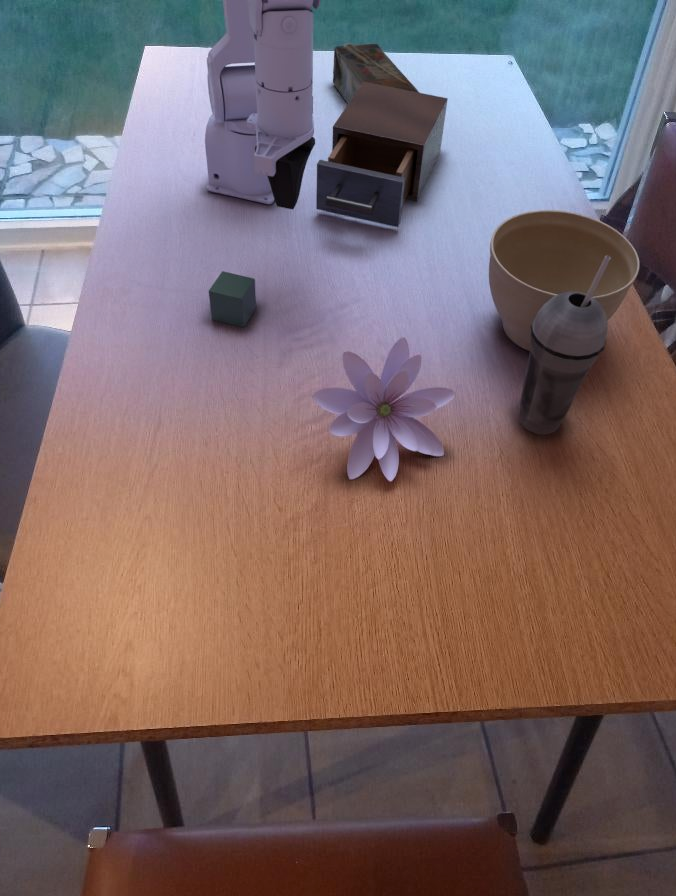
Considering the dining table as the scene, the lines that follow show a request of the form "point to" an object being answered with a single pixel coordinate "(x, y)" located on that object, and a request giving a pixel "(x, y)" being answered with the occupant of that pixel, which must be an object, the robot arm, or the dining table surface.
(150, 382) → the dining table surface
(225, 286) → the block
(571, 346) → the beverage cup
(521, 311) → the planter bowl
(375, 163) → the drawer
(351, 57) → the beverage carton
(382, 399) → the water lily
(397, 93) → the cabinet
